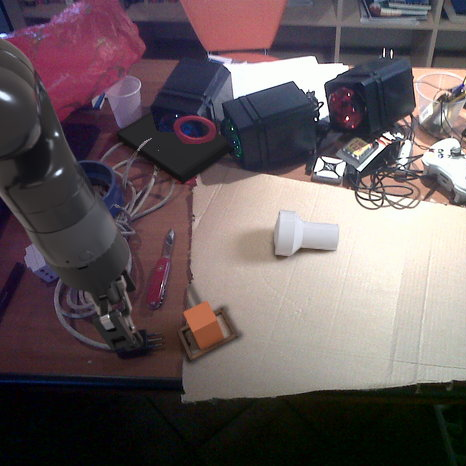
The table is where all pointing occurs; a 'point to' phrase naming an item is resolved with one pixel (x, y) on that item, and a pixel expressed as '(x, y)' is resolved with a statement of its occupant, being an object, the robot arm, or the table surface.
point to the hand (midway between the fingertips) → (131, 317)
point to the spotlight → (302, 234)
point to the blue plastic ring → (105, 183)
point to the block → (204, 325)
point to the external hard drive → (172, 149)
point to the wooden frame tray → (212, 347)
